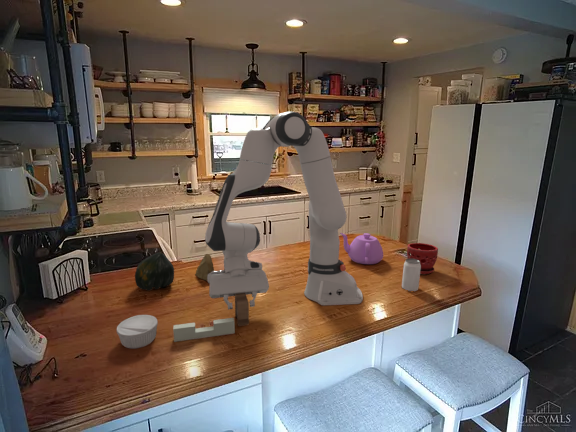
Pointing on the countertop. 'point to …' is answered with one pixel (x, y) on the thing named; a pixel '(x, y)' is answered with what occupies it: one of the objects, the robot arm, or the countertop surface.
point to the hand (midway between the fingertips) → (241, 307)
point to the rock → (205, 267)
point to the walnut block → (242, 309)
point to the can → (411, 274)
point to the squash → (154, 272)
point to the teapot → (364, 249)
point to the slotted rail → (203, 330)
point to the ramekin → (137, 331)
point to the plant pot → (423, 256)
